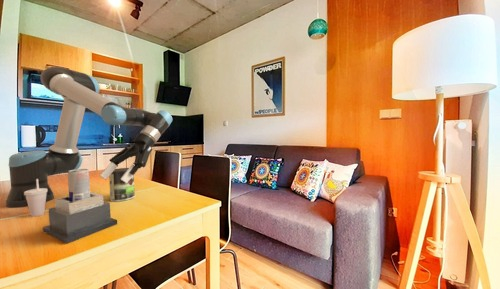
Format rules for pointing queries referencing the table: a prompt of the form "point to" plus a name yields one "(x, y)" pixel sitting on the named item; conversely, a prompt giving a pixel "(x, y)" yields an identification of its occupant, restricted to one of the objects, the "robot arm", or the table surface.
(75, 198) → the energy drink
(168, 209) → the table surface
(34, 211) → the smoothie
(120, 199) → the coffee can
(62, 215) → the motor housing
